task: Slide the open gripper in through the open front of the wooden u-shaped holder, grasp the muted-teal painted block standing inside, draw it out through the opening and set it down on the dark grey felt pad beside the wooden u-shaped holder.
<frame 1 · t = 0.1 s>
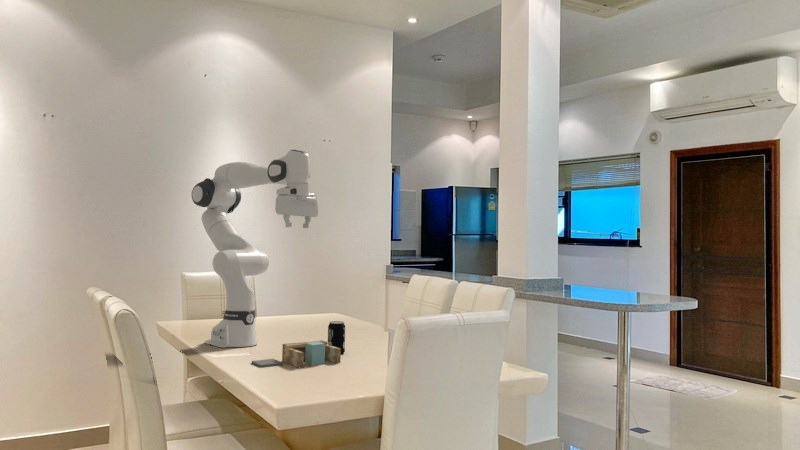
hand: (297, 227, 224), 48 cm above the table, fingers open, 8 cm apart
block: (314, 363, 206), on the table
pad: (267, 364, 203), on the table
wooden u-shaped holder: (312, 362, 207), on the table
beverage can: (336, 354, 224), on the table
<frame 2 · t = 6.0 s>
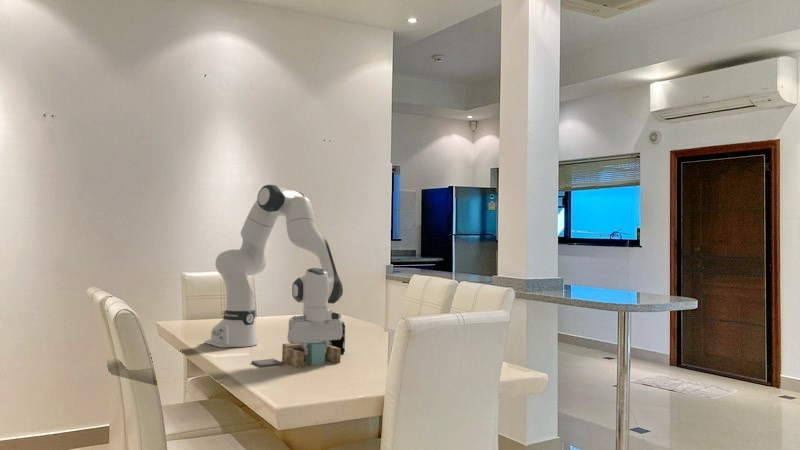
hand: (315, 354, 206), 3 cm above the table, fingers closed on block, 5 cm apart
block: (314, 363, 206), on the table, touching gripper
everything else where it was.
when the fingers open (5 cm above the table, at t = 12.3 s): block drops 1 cm, resting on pad.
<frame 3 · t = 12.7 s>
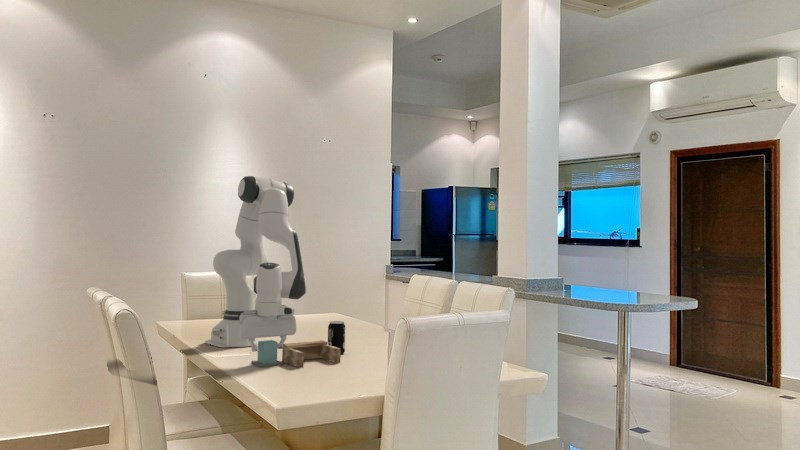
hand: (267, 349, 203), 5 cm above the table, fingers open, 8 cm apart
block: (267, 361, 203), point 1 cm above the table, touching pad
everything else where it was.
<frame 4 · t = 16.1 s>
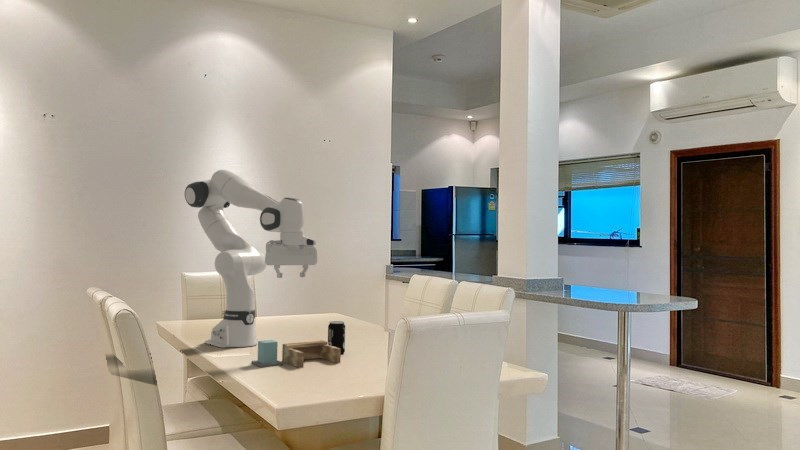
hand: (291, 277, 220), 29 cm above the table, fingers open, 8 cm apart
nothing on the table moved.
at the end: block inside the target area on the pad (0.0 cm from its centre), point 0.8 cm above the pad's base; block tilted 0°; the gripper is holding nothing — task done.
